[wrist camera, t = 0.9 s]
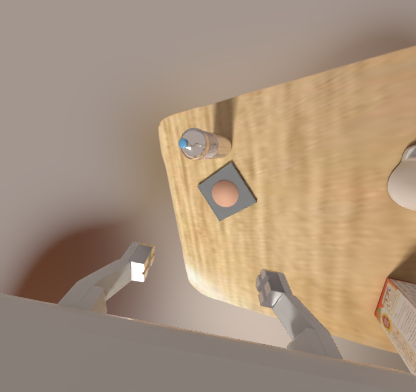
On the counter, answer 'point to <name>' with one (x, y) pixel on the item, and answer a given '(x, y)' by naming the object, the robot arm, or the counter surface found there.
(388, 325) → the cracker box
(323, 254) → the counter surface
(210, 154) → the water bottle
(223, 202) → the spot mat
